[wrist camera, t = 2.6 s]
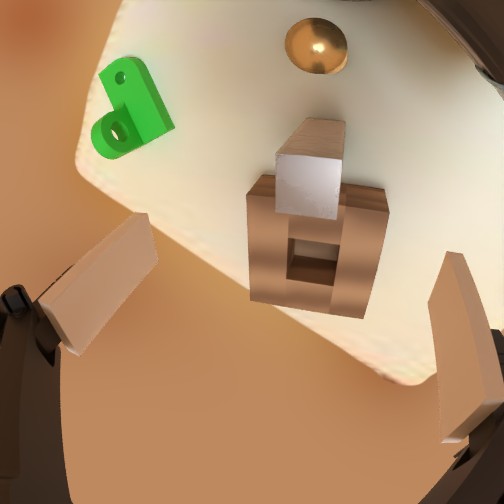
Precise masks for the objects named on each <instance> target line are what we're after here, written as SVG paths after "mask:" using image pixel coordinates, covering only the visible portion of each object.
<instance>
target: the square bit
mask: <svg viewBox="0 0 504 504" xmlns="http://www.w3.org/2000/svg"><path fill="white" fill-rule="evenodd" d="M344 135H345V122H343V121H334V120H324V119H312V118H307V119H306V120H305V121H304V122H303V123H302V125H301V126H300V127H299V128H298V129H297V130H296V131H295V132H294V133H293V135H292V136H291V137H290V138H289V139H288V140H287V141H286V142H285V144H284V145H283V146H282V147H281V148H280V149H279V150H278V151H277V153H276V201H275V212H277V213H286V214H294V215H302V216H310V217H317V218H325V219H332V220H336V219H337V210H338V202H339V193H340V183H341V173H342V162H343V149H344Z"/></svg>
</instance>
